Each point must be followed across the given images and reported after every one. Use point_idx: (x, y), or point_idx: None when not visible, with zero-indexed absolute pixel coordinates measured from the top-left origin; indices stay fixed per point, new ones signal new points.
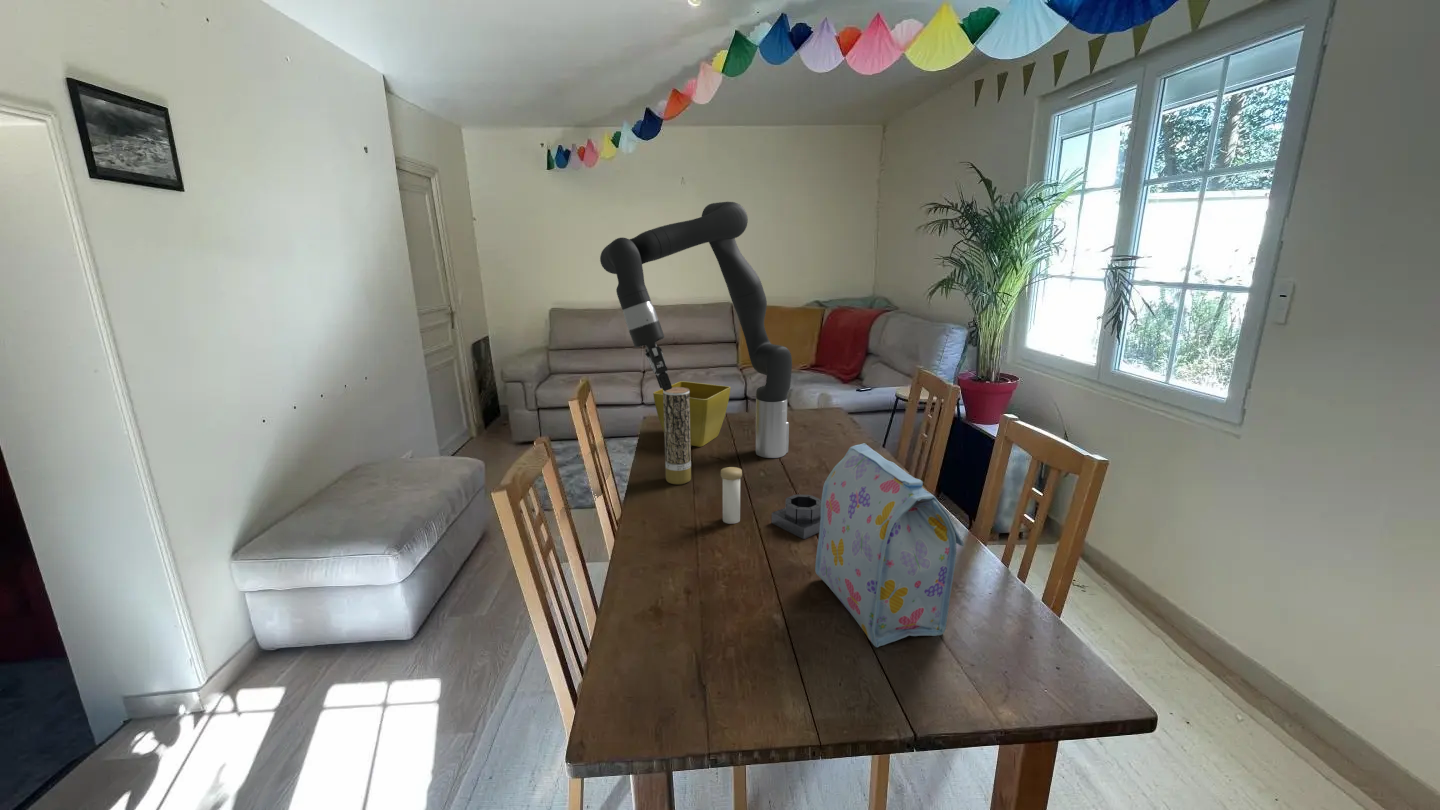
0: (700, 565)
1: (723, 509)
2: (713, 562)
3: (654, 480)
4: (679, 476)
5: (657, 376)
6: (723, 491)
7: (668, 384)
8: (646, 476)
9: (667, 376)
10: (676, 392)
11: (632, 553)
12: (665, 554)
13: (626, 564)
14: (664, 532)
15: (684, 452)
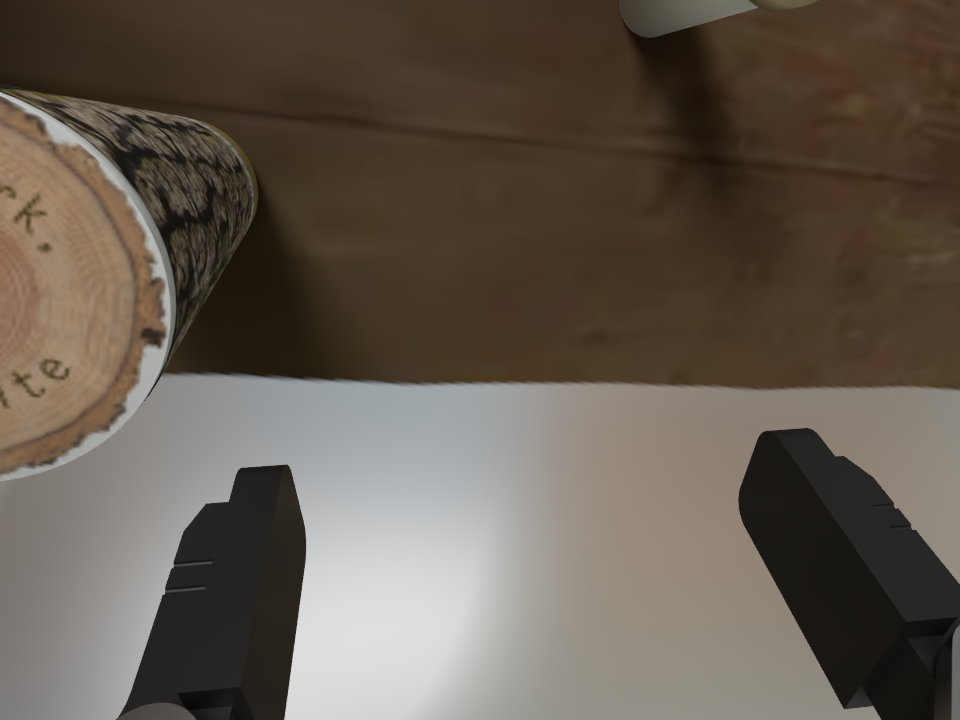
0: (885, 170)
1: (684, 28)
2: (885, 128)
3: None
4: (255, 189)
5: (279, 715)
6: (737, 13)
7: (869, 494)
8: None
9: (916, 576)
10: (112, 299)
11: (768, 361)
12: (802, 269)
13: (814, 372)
14: (679, 269)
15: (232, 163)
